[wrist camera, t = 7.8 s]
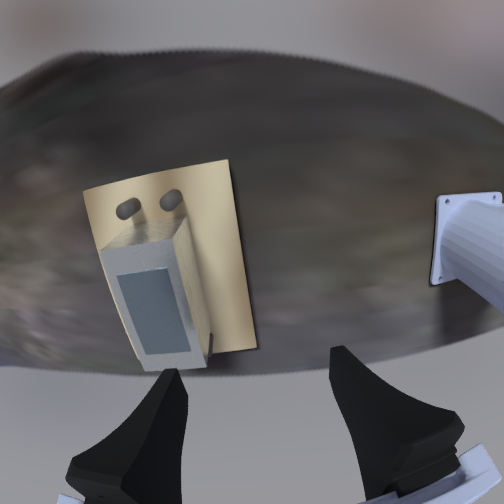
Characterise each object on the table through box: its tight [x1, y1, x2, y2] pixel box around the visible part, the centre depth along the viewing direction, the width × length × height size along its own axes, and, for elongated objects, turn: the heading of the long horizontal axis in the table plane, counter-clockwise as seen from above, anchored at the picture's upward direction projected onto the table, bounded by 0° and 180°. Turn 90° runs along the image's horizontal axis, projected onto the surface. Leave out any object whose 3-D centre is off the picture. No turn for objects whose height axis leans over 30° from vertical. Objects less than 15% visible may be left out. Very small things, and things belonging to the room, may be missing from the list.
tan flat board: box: [83, 160, 257, 359], centre depth 19 cm, size 10×14×3 cm
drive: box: [99, 214, 211, 371], centre depth 17 cm, size 4×8×5 cm, turn 8°
